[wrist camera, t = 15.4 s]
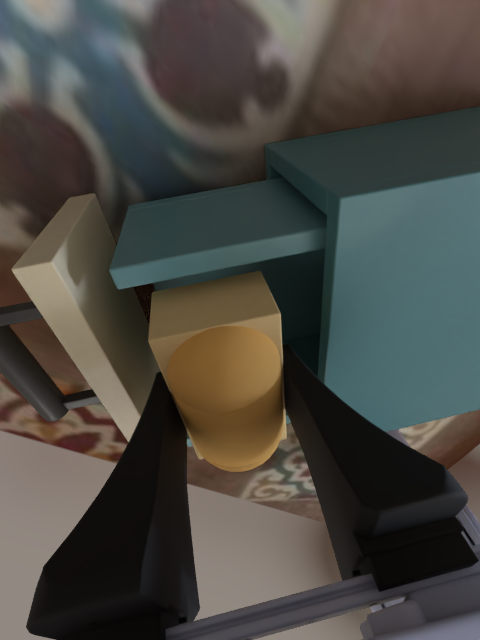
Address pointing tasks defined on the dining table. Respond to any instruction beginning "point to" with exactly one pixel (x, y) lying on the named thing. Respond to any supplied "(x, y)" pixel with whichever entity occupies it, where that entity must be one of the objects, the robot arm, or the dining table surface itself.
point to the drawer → (157, 285)
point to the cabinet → (397, 262)
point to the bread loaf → (223, 366)
